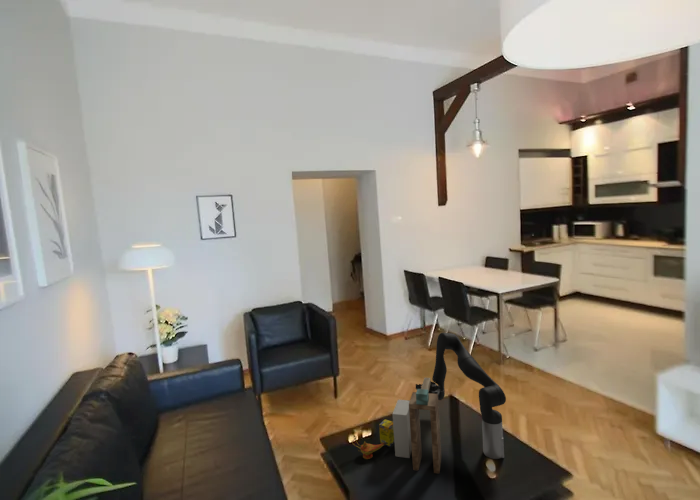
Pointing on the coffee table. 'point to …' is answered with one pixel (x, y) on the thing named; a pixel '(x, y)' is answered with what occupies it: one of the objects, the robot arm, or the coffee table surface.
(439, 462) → the brown tall legged stand
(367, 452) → the magic lamp
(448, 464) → the coffee table surface
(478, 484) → the coffee table surface
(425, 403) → the mallet
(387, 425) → the supplement box
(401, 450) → the grey pedestal
